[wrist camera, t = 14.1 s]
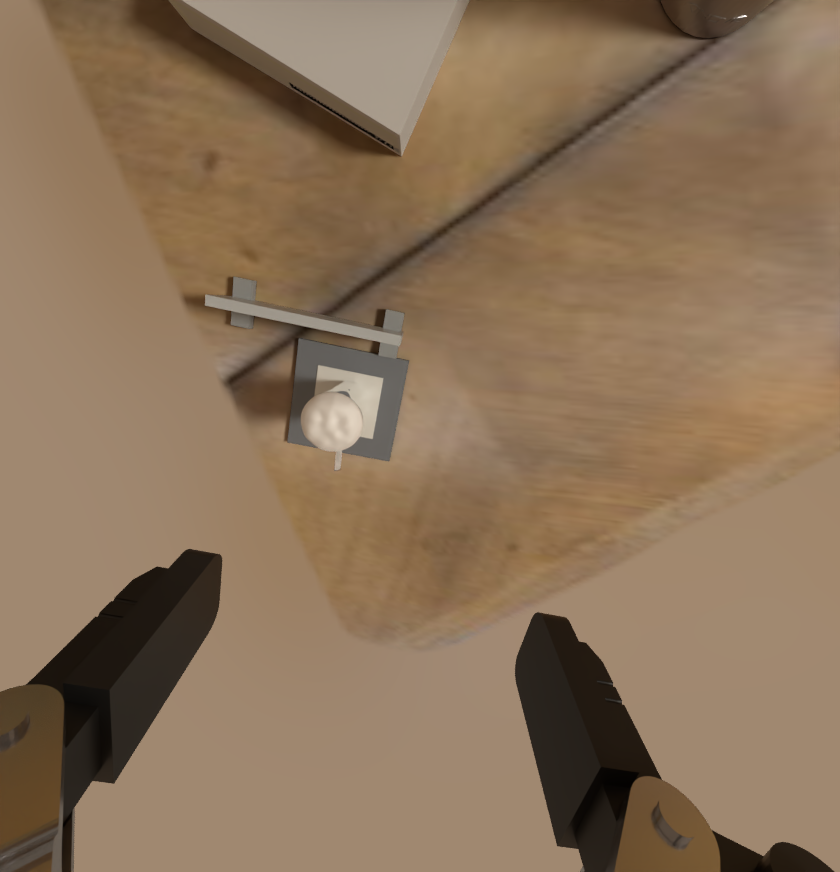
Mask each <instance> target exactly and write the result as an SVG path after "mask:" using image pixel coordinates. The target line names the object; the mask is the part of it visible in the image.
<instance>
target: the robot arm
mask: <svg viewBox="0 0 840 872" xmlns="http://www.w3.org/2000/svg"><path fill="white" fill-rule="evenodd" d="M773 1H774V0H661V3H662V5H663V8H664V10H665V12H666V14H667V15H668V16H669V18H670V19H671V21H672V22H673V23H674V24H675V25H676V26H677V27H679V28H680V29H681V30H682V31H683V32H686V33H688V34H690V35H692V36H695V37H701V38H714V37H721V36H724V35H726V34H729V33H731V32H734V31H736V30H737V29H739V28H740V27H742V26H743V25H745V24H746V23H748V22H749V21H750V20H751V19H753V18H754V17H755V16H756V15H757V14H758V13H760V12H761V11H762V10H763V9H764V8H765V7H767V6H768V5H769V4H770V3H771V2H773ZM221 571H222V557H221V555H220V554H215V553H209V552H203V551H198V550H192V549H188V550H186V551H184V552H183V553H182V554H181V556H180V557H179V558H178V559H177V560H176V561H175V562H174V563H173V564H172V565H171V566H170V567H169V568H168V569H167V568H162V567H155V568H154V569H152V570H150V571H148V572H146V573H144V574H143V575H141V576H139V577H137V578H135V579H133V580H132V581H131V582H130V583H129V584H128V585H127V586H126V587H125V588H124V589H123V590H122V591H121V592H120V593H119V594H118V595H117V596H116V597H115V599H114V601H111V602H110V603H109V604H108V605H107V606H106V607H105V608H104V609H103V610H102V611H101V612H100V613H99V616H98V617H95V618H94V619H93V620H92V621H91V622H90V623H89V624H88V625H87V626H86V627H85V628H84V629H82V631H80V633H78V634H77V636H75V637H74V639H72V640H71V641H70V642H69V643H68V644H67V646H65V647H64V648H63V649H62V650H61V651H60V652H59V653H58V654H57V655H56V656H55V657H54V658H53V659H52V660H51V661H50V662H49V663H48V664H47V665H46V666H45V667H44V668H43V669H42V670H41V671H40V672H39V673H38V674H37V675H36V676H35V677H34V678H33V679H32V680H31V681H29V682H28V684H26V685H23V686H18V687H14V688H10V689H7V690H4V691H1V692H0V872H74V823H75V822H74V821H75V809H74V807H75V806H76V804H77V803H78V801H79V800H80V798H81V797H82V795H83V794H84V792H85V791H86V789H87V788H88V786H89V785H90V783H91V782H92V781H99V782H106V783H115V781H116V780H117V778H118V776H119V775H120V773H121V772H122V770H123V768H124V767H125V765H126V764H127V762H128V760H129V759H130V757H131V756H132V754H133V752H134V751H135V749H136V748H137V746H138V744H139V743H140V741H141V740H142V738H143V736H144V735H145V733H146V732H147V730H148V729H149V727H150V725H151V724H152V722H153V721H154V719H155V717H156V716H157V714H158V713H159V711H160V709H161V708H162V706H163V704H164V703H165V701H166V700H167V698H168V697H169V695H170V693H171V692H172V690H173V689H174V687H175V686H176V684H177V682H178V681H179V679H180V678H181V676H182V674H183V673H184V671H185V670H186V668H187V666H188V665H189V663H190V661H191V660H192V658H193V657H194V655H195V653H196V652H197V650H198V649H199V647H200V646H201V644H202V643H203V641H204V639H205V638H206V636H207V635H208V633H209V631H210V629H211V628H212V625H213V623H214V621H215V618H216V615H217V612H218V608H219V600H220V586H221ZM515 677H516V684H517V688H518V692H519V696H520V700H521V704H522V708H523V712H524V716H525V720H526V724H527V728H528V732H529V736H530V740H531V744H532V748H533V751H534V756H535V759H536V764H537V768H538V771H539V775H540V779H541V783H542V787H543V791H544V795H545V799H546V803H547V807H548V811H549V815H550V819H551V823H552V827H553V831H554V835H555V839H556V843H557V846H560V847H568V848H576V849H579V853H580V856H581V860H582V863H583V867H582V869H581V871H580V872H834V871H833V870H832V869H831V868H830V867H828V866H827V865H826V864H825V863H823V862H822V861H821V860H820V859H818V858H817V857H815V856H814V855H813V854H811V853H810V852H808V851H806V850H805V849H803V848H801V847H798V846H796V845H793V844H790V843H786V842H780V843H776V844H775V845H773V846H772V847H771V849H770V850H769V851H768V852H767V853H766V855H765V856H762V855H760V854H757V853H756V852H754V851H751V850H750V849H748V848H746V847H744V846H742V845H740V844H738V843H736V842H734V841H732V840H730V839H727V838H726V837H724V836H722V835H720V834H718V833H716V832H714V831H713V830H711V828H710V826H709V824H708V823H707V821H706V820H705V818H704V817H703V815H702V814H701V813H700V811H699V810H698V809H697V808H696V806H695V805H694V804H693V803H692V802H691V801H690V800H689V799H688V798H687V797H686V796H685V795H684V794H683V793H681V792H680V791H679V790H678V789H677V788H675V787H674V786H672V785H671V784H669V783H667V782H665V781H663V780H662V779H661V777H660V775H659V773H658V771H657V769H656V767H655V765H654V763H653V761H652V759H651V757H650V755H649V753H648V751H647V749H646V747H645V745H644V743H643V741H642V739H641V737H640V735H639V733H638V731H637V729H636V728H635V726H634V724H633V721H632V719H631V717H630V716H629V714H628V712H627V710H626V708H625V706H624V705H622V700H621V698H620V696H619V694H618V692H617V690H616V688H615V687H613V682H612V680H611V678H610V676H609V674H608V672H607V670H606V668H605V666H604V664H603V662H602V661H601V660H600V659H599V657H598V656H597V655H596V654H595V653H594V652H593V650H592V649H591V648H590V647H589V646H588V645H587V644H586V643H584V642H579V641H578V639H577V637H576V634H575V632H574V630H573V628H572V626H571V624H570V622H569V620H568V619H567V618H565V617H560V616H555V615H549V614H543V613H535V614H534V616H533V617H532V619H531V622H530V624H529V627H528V630H527V632H526V635H525V637H524V640H523V642H522V645H521V647H520V650H519V653H518V655H517V659H516V665H515Z"/></svg>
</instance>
